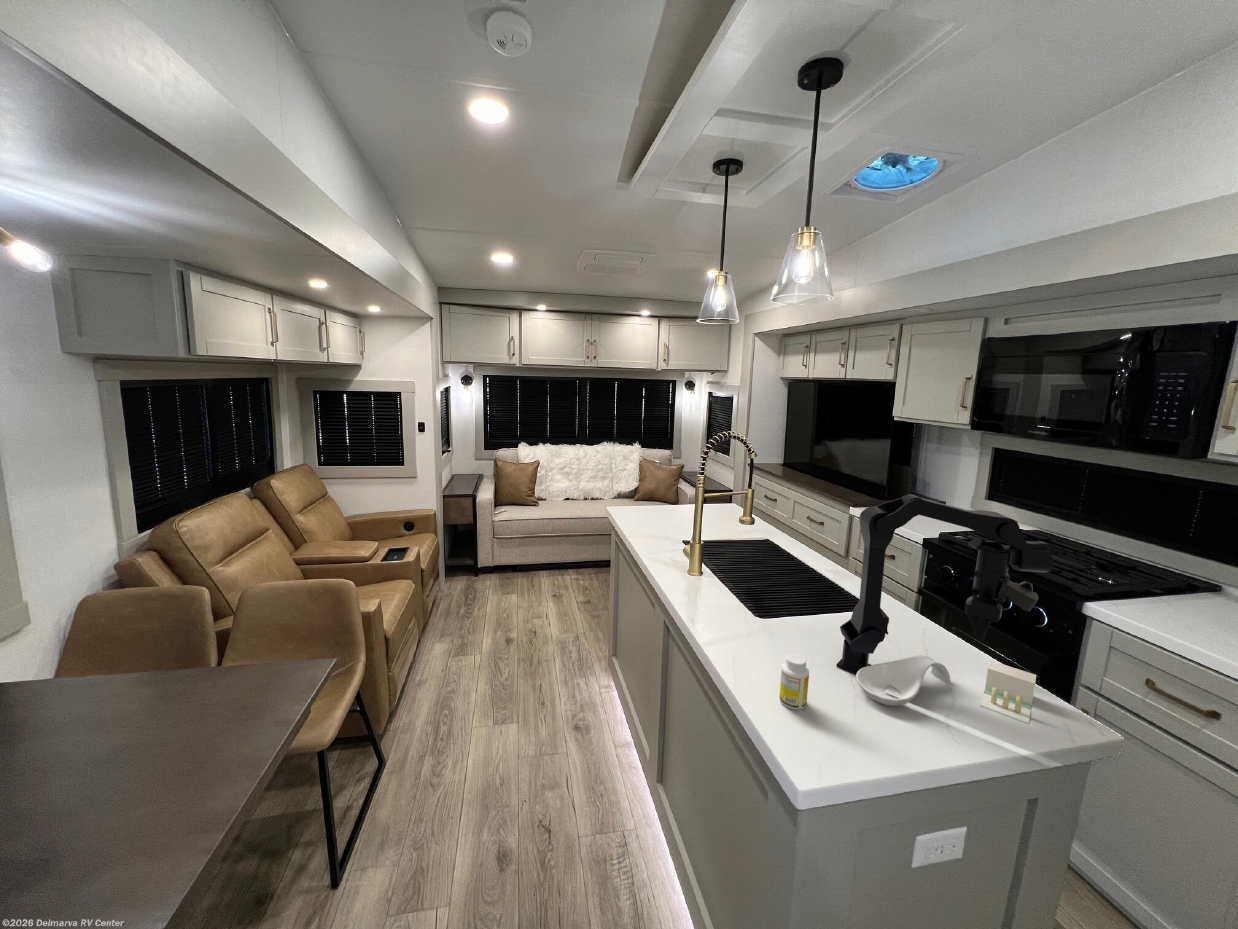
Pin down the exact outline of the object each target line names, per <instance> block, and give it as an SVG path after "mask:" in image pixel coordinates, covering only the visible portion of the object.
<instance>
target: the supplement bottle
mask: <svg viewBox="0 0 1238 929" xmlns="http://www.w3.org/2000/svg"><path fill="white" fill-rule="evenodd" d="M780 673H781V674H780V686H779V701H780V703H781V704H782V705H783V706H784V707H786V708H788V709H791V710H799V711H800V710H803V709H805V708H806V707H807V704H808V691H809V680H810V670H809V668H808V667H807V659H806V658H805V657H804V656H802V655H800V654H795V653H790V654H787V655H786V658H785V662H784V663H782V665H781V672H780Z"/></svg>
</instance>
